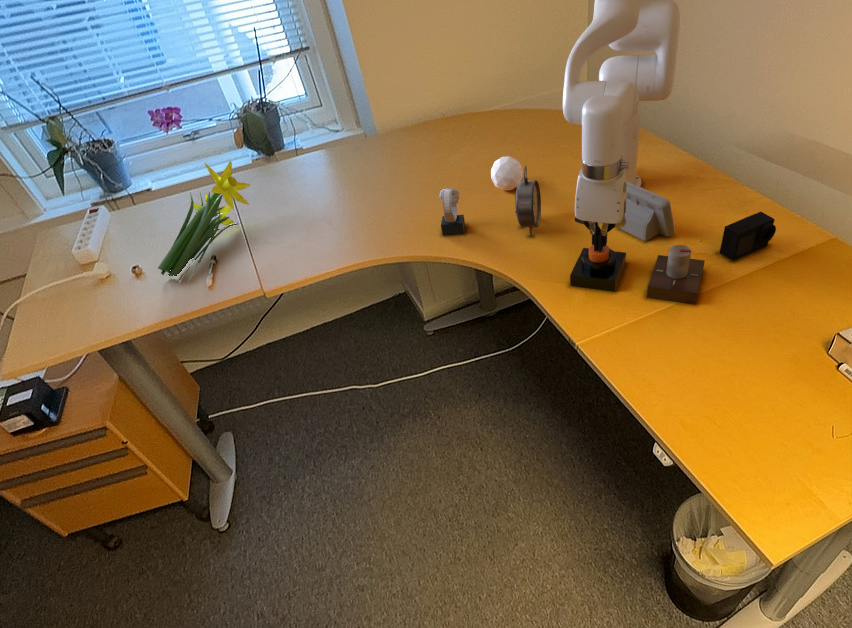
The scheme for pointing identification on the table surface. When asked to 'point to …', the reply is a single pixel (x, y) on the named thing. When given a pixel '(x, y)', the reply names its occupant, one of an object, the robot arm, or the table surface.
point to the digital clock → (647, 214)
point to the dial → (678, 261)
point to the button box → (598, 271)
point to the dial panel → (675, 282)
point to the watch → (451, 213)
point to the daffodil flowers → (204, 222)
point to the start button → (599, 254)
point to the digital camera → (747, 236)
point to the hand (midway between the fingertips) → (599, 247)
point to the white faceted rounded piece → (506, 173)
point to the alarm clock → (528, 203)
